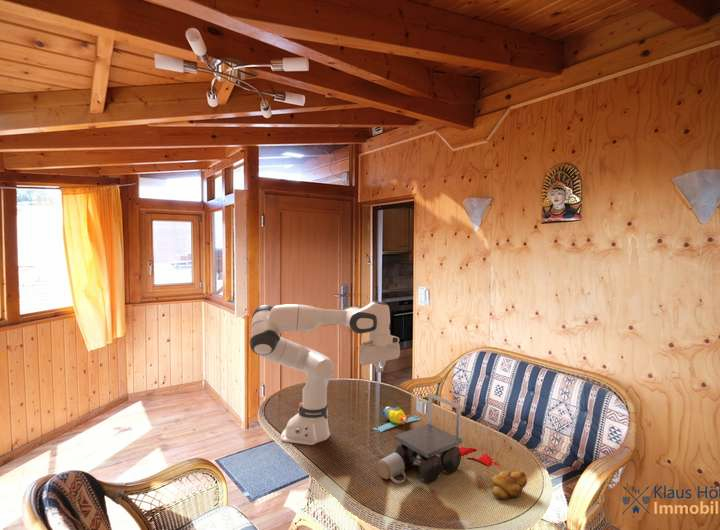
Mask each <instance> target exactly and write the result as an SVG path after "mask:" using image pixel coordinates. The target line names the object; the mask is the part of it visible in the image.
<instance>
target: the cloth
mask: <svg viewBox="0 0 720 530" xmlns="http://www.w3.org/2000/svg"><path fill="white" fill-rule="evenodd" d="M456 447H457V448H459V447H461V448H459V450H460V452H461V456H464V455H467V454H469V453H472V452H475V451H477V448H473V447H466V446H456ZM488 455H489V454H488V453H486V454H484V455H483V456H482V457H480V458H479V459H475V458H474V457H472V458H471V459H470V460H475V461H477V462H480V463H481V462H482V463H481V464H484V465H485V466H487V467H492V466H491V465H492V463H494V464H495V465H497V466H496V467H498V466H499V468H501V465H500V464H499V463H497V461H495V462H492V460H495V459H494V458H493V457H491V456H490V457H491V458H490V457H489V456H488ZM495 465H494V466H495Z"/></svg>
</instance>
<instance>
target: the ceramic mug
mask: <svg viewBox="0 0 720 530" xmlns="http://www.w3.org/2000/svg"><path fill="white" fill-rule="evenodd" d="M405 470H406V468H405V465H404V461H403V459H402V457H401V456H400V455H399V454H398V453H395V452H393V453H390V454H389V455H387V456H385V457H383V458H381V459H380V460H379V461H378V463H377V471H378V473H379V475H380V477H381V478H382V479H385V480H391V481H392V482H393V483H394V484H397V485H401V484H404V483H405V481H406V477H407V475H406V473H405ZM399 475H402V476H403V480H398V479H396V478H395V477H398V476H399Z"/></svg>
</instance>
